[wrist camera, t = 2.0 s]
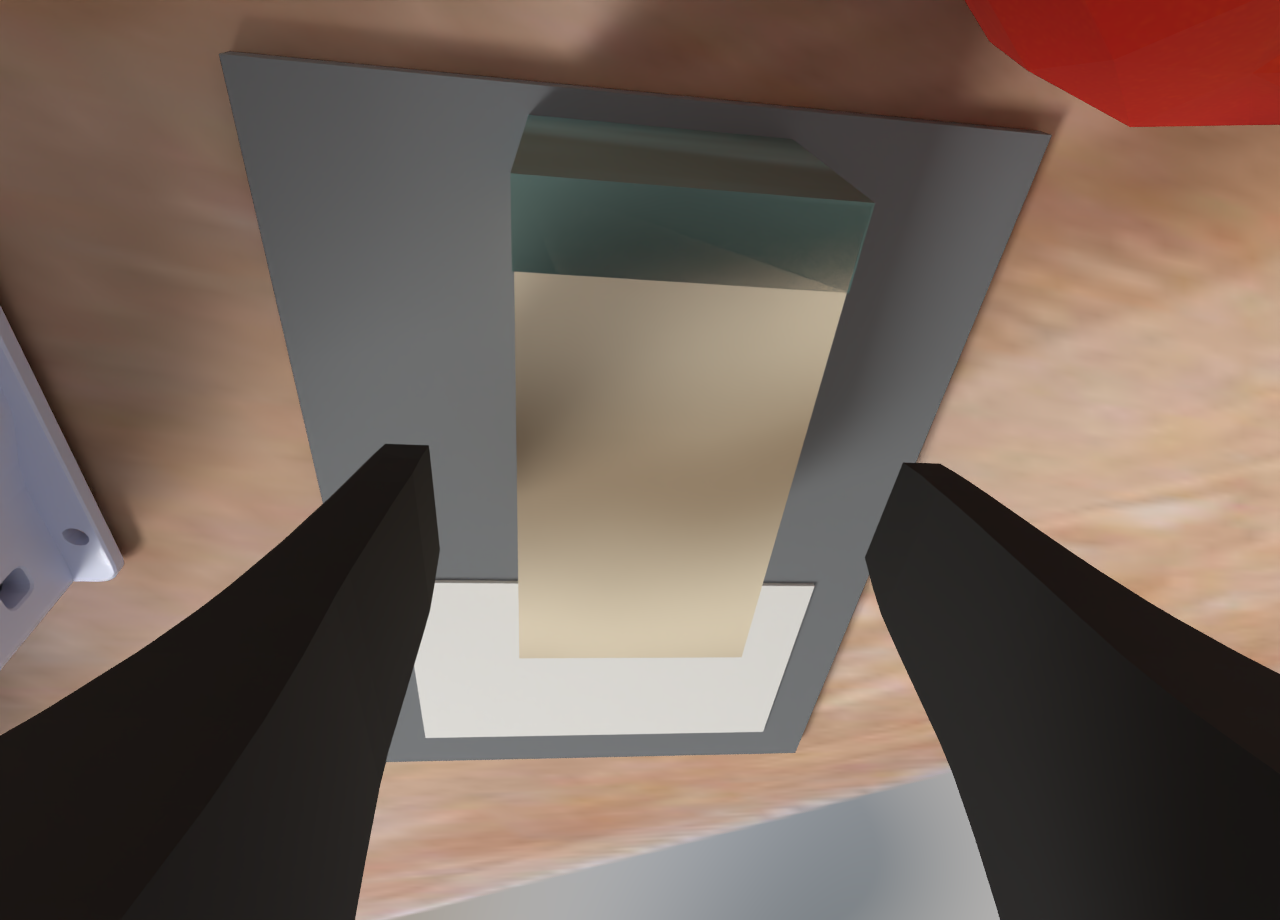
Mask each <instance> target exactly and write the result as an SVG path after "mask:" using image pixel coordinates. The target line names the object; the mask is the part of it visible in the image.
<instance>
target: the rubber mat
mask: <svg viewBox="0 0 1280 920" xmlns="http://www.w3.org/2000/svg"><path fill="white" fill-rule="evenodd" d="M219 57H220V61H221V65H222V69H223V74H224V78H225V82H226V87H227V91H228V95H229V100H230V104H231V108H232V113H233V117H234V121H235V126H236V130H237V134H238V139H239V143H240V147H241V151H242V156H243V160H244V164H245V169H246V173H247V177H248V182H249V186H250V190H251V195H252V199H253V203H254V208H255V212H256V216H257V221H258V225H259V229H260V233H261V238H262V242H263V246H264V251H265V255H266V259H267V264H268V268H269V272H270V277H271V281H272V285H273V290H274V294H275V298H276V303H277V307H278V311H279V315H280V320H281V324H282V328H283V333H284V337H285V341H286V346H287V350H288V354H289V359H290V363H291V367H292V372H293V376H294V380H295V385H296V389H297V393H298V397H299V402H300V406H301V410H302V415H303V419H304V423H305V428H306V432H307V436H308V441H309V445H310V449H311V454H312V458H313V462H314V467H315V471H316V475H317V479H318V484H319V488H320V492H321V497H322V501H323V503H324V502H325V501H326V500H327V499H328V498H330V497H331V496H332V495H333V494H334V493H335V492H336V491H337V490H338V489H339V488H340V487H341V486H342V485H343V484H344V483H345V482H346V481H347V480H348V479H349V478H350V477H351V476H352V475H353V474H354V473H355V472H356V471H357V470H358V469H359V468H360V467H361V466H362V465H363V464H364V463H365V462H366V461H367V460H368V459H369V458H370V457H371V456H372V455H373V454H374V453H375V452H377V451H378V450H379V449H380V448H381V447H382V446H383V445H384V444H407V445H429V450H430V460H431V469H432V479H433V488H434V498H435V507H436V516H437V526H438V535H439V545H440V553H439V559H438V566H437V572H436V579H435V585H434V591H433V597H432V602H431V608H430V613H429V616H428V620H427V623H426V627H425V630H424V634H423V637H422V640H421V644H420V647H419V651H418V654H417V658H416V661H415V664H414V668H413V671H412V674H411V678H410V681H409V684H408V688H407V691H406V694H405V698H404V701H403V705H402V708H401V711H400V715H399V718H398V721H397V725H396V728H395V731H394V735H393V738H392V742H391V745H390V748H389V752H388V756H387V760H386V762H407V761H452V760H496V759H541V758H585V757H630V756H675V755H719V754H764V753H795V752H796V749H797V747H798V744H799V742H800V740H801V737H802V735H803V732H804V730H805V728H806V725H807V723H808V720H809V718H810V716H811V713H812V711H813V708H814V706H815V704H816V701H817V699H818V696H819V694H820V691H821V689H822V687H823V684H824V682H825V679H826V677H827V675H828V672H829V670H830V667H831V665H832V663H833V660H834V658H835V655H836V653H837V651H838V648H839V646H840V643H841V641H842V639H843V636H844V634H845V631H846V629H847V627H848V624H849V622H850V619H851V617H852V615H853V612H854V610H855V607H856V605H857V602H858V600H859V598H860V595H861V593H862V590H863V588H864V586H865V583H866V581H867V578H868V576H869V571H868V568H867V564H866V561H865V556H866V553H867V551H868V548H869V546H870V543H871V541H872V538H873V536H874V533H875V531H876V528H877V526H878V523H879V521H880V518H881V516H882V513H883V511H884V508H885V506H886V504H887V501H888V499H889V496H890V494H891V491H892V489H893V486H894V484H895V481H896V479H897V476H898V474H899V471H900V469H901V466H902V464H903V462H904V463H916V461H917V458H918V456H919V453H920V451H921V449H922V446H923V444H924V441H925V439H926V437H927V434H928V432H929V429H930V427H931V425H932V422H933V420H934V417H935V415H936V412H937V410H938V408H939V405H940V403H941V400H942V398H943V396H944V393H945V391H946V388H947V386H948V384H949V381H950V379H951V376H952V374H953V372H954V369H955V367H956V364H957V362H958V360H959V357H960V355H961V352H962V350H963V348H964V345H965V343H966V340H967V338H968V336H969V333H970V331H971V328H972V326H973V323H974V321H975V319H976V316H977V314H978V311H979V309H980V307H981V304H982V302H983V299H984V297H985V295H986V292H987V290H988V287H989V285H990V283H991V280H992V278H993V275H994V273H995V271H996V268H997V266H998V263H999V261H1000V259H1001V256H1002V254H1003V251H1004V249H1005V247H1006V244H1007V242H1008V239H1009V237H1010V234H1011V232H1012V230H1013V227H1014V225H1015V222H1016V220H1017V218H1018V215H1019V213H1020V210H1021V208H1022V206H1023V203H1024V201H1025V198H1026V196H1027V194H1028V191H1029V189H1030V186H1031V184H1032V182H1033V179H1034V177H1035V174H1036V172H1037V170H1038V167H1039V165H1040V162H1041V160H1042V158H1043V155H1044V153H1045V150H1046V148H1047V146H1048V143H1049V141H1050V138H1051V136H1052V135H1050V134H1047V133H1044V132H1041V131H1035V130H1025V129H1015V128H1005V127H994V126H984V125H974V124H964V123H954V122H944V121H933V120H923V119H913V118H903V117H893V116H883V115H872V114H862V113H852V112H842V111H832V110H821V109H811V108H801V107H791V106H781V105H771V104H760V103H750V102H740V101H730V100H720V99H710V98H699V97H689V96H679V95H669V94H659V93H649V92H638V91H628V90H618V89H608V88H598V87H588V86H577V85H567V84H557V83H547V82H537V81H527V80H516V79H506V78H496V77H486V76H476V75H466V74H455V73H445V72H435V71H425V70H415V69H404V68H394V67H384V66H374V65H364V64H354V63H343V62H333V61H323V60H313V59H303V58H293V57H282V56H272V55H262V54H252V53H242V52H232V51H229V52H225V53H220V54H219ZM528 115H537V116H548V117H559V118H570V119H581V120H591V121H602V122H613V123H624V124H635V125H646V126H656V127H667V128H678V129H689V130H700V131H711V132H721V133H732V134H743V135H754V136H765V137H776V138H786V139H793V140H794V141H796V142H797V143H798V144H799V145H801V146H802V147H803V148H805V149H806V150H807V151H809V152H810V153H811V154H812V155H814V156H815V157H816V158H818V159H819V160H820V161H821V162H823V163H824V164H825V165H827V166H828V167H829V168H831V169H832V170H833V171H834V172H836V173H837V174H838V175H840V176H841V177H842V178H843V179H845V180H846V181H847V182H849V183H850V184H851V185H852V186H854V187H855V188H856V189H858V190H859V191H860V192H862V193H863V194H864V195H865V196H867V197H868V198H869V199H871V200H872V201H873V202H874V203H875V205H874V209H873V212H872V216H871V219H870V222H869V226H868V229H867V233H866V236H865V240H864V243H863V246H862V250H861V253H860V257H859V260H858V264H857V267H856V271H855V274H854V277H853V281H852V284H851V288H850V291H849V293H847V294H846V298H845V301H844V305H843V308H842V311H841V315H840V318H839V322H838V325H837V329H836V332H835V336H834V339H833V343H832V346H831V350H830V353H829V356H828V360H827V363H826V367H825V370H824V374H823V377H822V381H821V384H820V388H819V391H818V395H817V398H816V401H815V405H814V408H813V412H812V415H811V419H810V422H809V426H808V429H807V433H806V436H805V439H804V443H803V446H802V450H801V453H800V457H799V460H798V464H797V467H796V471H795V474H794V478H793V481H792V484H791V488H790V491H789V495H788V498H787V502H786V505H785V509H784V512H783V516H782V519H781V523H780V526H779V529H778V533H777V536H776V540H775V543H774V547H773V550H772V554H771V557H770V561H769V564H768V567H767V571H766V574H765V578H764V581H763V585H762V588H761V592H760V595H759V599H758V602H757V606H756V609H755V612H754V616H753V619H752V623H751V626H750V630H749V633H748V637H747V640H746V644H745V647H744V651H743V654H742V657H704V658H519V600H518V525H517V450H516V374H515V299H514V272H512V253H511V189H510V173H511V169H512V166H513V163H514V160H515V156H516V153H517V150H518V147H519V144H520V140H521V137H522V134H523V131H524V128H525V124H526V121H527V118H528Z"/></svg>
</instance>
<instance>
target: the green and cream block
mask: <svg viewBox="0 0 1280 920" xmlns="http://www.w3.org/2000/svg"><path fill="white" fill-rule="evenodd" d="M510 189H511V253H512V272H514V299H515V374H516V450H517V525H518V600H519V658H704V657H742V654H743V651H744V647H745V644H746V640H747V637H748V633H749V630H750V626H751V623H752V619H753V616H754V612H755V609H756V606H757V602H758V599H759V595H760V592H761V588H762V585H763V581H764V578H765V574H766V571H767V567H768V564H769V561H770V557H771V554H772V550H773V547H774V543H775V540H776V536H777V533H778V529H779V526H780V523H781V519H782V516H783V512H784V509H785V505H786V502H787V498H788V495H789V491H790V488H791V484H792V481H793V478H794V474H795V471H796V467H797V464H798V460H799V457H800V453H801V450H802V446H803V443H804V439H805V436H806V433H807V429H808V426H809V422H810V419H811V415H812V412H813V408H814V405H815V401H816V398H817V395H818V391H819V388H820V384H821V381H822V377H823V374H824V370H825V367H826V363H827V360H828V356H829V353H830V350H831V346H832V343H833V339H834V336H835V332H836V329H837V325H838V322H839V318H840V315H841V311H842V308H843V305H844V301H845V298H846V294H847V293H849V291H850V288H851V284H852V281H853V277H854V274H855V271H856V267H857V264H858V260H859V257H860V253H861V250H862V246H863V243H864V240H865V236H866V233H867V229H868V226H869V222H870V219H871V216H872V212H873V209H874V205H875V203H874V202H873V201H872V200H871V199H869V198H868V197H867V196H865V195H864V194H863V193H862V192H860V191H859V190H858V189H856V188H855V187H854V186H852V185H851V184H850V183H849V182H847V181H846V180H845V179H843V178H842V177H841V176H840V175H838V174H837V173H836V172H834V171H833V170H832V169H831V168H829V167H828V166H827V165H825V164H824V163H823V162H821V161H820V160H819V159H818V158H816V157H815V156H814V155H812V154H811V153H810V152H809V151H807V150H806V149H805V148H803V147H802V146H801V145H799V144H798V143H797V142H796V141H794V140H793V139H786V138H776V137H765V136H754V135H743V134H732V133H721V132H711V131H700V130H689V129H678V128H667V127H656V126H646V125H635V124H624V123H613V122H602V121H591V120H581V119H570V118H559V117H548V116H537V115H528V118H527V121H526V124H525V128H524V131H523V134H522V137H521V140H520V144H519V147H518V150H517V153H516V156H515V160H514V163H513V166H512V169H511V173H510Z"/></svg>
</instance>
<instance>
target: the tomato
mask: <svg viewBox="0 0 1280 920" xmlns="http://www.w3.org/2000/svg"><path fill="white" fill-rule="evenodd" d="M965 2H966V4H967V5H968V7H969V9H970V10H971V12H972V14H973V15H974V17H975V18H976V20H977V22H978V23H979V25H980V27H981V28H982V30H983V32H984V33H985V35H986V37H987V38H988V40H989V41H990V42H991V43H992V44H993V45H995V46H996V47H997V48H999V49H1000V50H1001V51H1003V52H1004V53H1005V54H1007V55H1008V56H1009V57H1011V58H1012V59H1013V60H1014V61H1016V62H1017V63H1018V64H1020V65H1021V66H1022V67H1024V68H1025V69H1026V70H1028V71H1029V72H1031V73H1033V74H1035V75H1037V76H1039V77H1040V78H1042V79H1044V80H1046V81H1048V82H1049V83H1051V84H1053V85H1055V86H1057V87H1058V88H1060V89H1062V90H1064V91H1066V92H1068V93H1069V94H1071V95H1073V96H1075V97H1077V98H1078V99H1080V100H1082V101H1084V102H1086V103H1087V104H1089V105H1091V106H1093V107H1095V108H1097V109H1098V110H1100V111H1102V112H1104V113H1106V114H1107V115H1109V116H1111V117H1113V118H1115V119H1117V120H1118V121H1120V122H1122V123H1124V124H1126V125H1127V126H1129V127H1156V126H1218V125H1280V0H965Z"/></svg>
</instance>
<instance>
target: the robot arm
mask: <svg viewBox="0 0 1280 920" xmlns="http://www.w3.org/2000/svg"><path fill="white" fill-rule="evenodd" d="M77 529H78V530H77ZM79 530H80V531H79ZM81 531H82V532H81ZM83 532H84V533H83ZM439 553H440V545H439V535H438V526H437V516H436V507H435V498H434V488H433V479H432V469H431V460H430V450H429V445H407V444H384V445H383V446H382V447H381V448H380V449H379V450H378V451H377V452H375V453H374V454H373V455H372V456H371V457H370V458H369V459H368V460H367V461H366V462H365V463H364V464H363V465H362V466H361V467H360V468H359V469H358V470H357V471H356V472H355V473H354V474H353V475H352V476H351V477H350V478H349V479H348V480H347V481H346V482H345V483H344V484H343V485H342V486H341V487H340V488H339V489H338V490H337V491H336V492H335V493H334V494H333V495H332V496H331V497H330V498H328V499H327V500H326V501H325V502H324V503H323V504H322V505H321V506H320V507H319V508H318V509H317V510H316V511H315V512H314V513H312V514H311V515H310V516H309V517H308V518H307V519H306V520H305V521H304V522H303V523H302V524H301V525H300V526H298V527H297V528H296V529H295V530H294V531H293V532H292V533H291V534H290V535H289V536H288V537H286V538H285V539H284V540H283V541H282V542H281V543H280V544H279V545H277V546H276V547H275V548H274V549H273V550H271V551H270V552H269V553H268V554H267V555H265V556H264V557H263V558H262V559H261V560H259V561H258V562H257V563H256V564H255V565H254V566H252V567H251V568H250V569H249V570H248V571H246V572H245V573H244V574H243V575H242V576H240V577H239V578H238V579H237V580H236V581H234V582H233V583H232V584H231V585H230V586H228V587H227V588H226V589H225V590H223V591H222V592H221V593H219V594H218V595H217V596H215V597H214V598H213V599H212V600H210V601H209V602H208V603H206V604H205V605H204V606H202V607H201V608H200V609H198V610H197V611H196V612H194V613H193V614H191V615H190V616H189V617H187V618H186V619H184V620H183V621H181V622H180V623H179V624H177V625H176V626H174V627H173V628H172V629H170V630H169V631H167V632H166V633H165V634H163V635H162V636H160V637H159V638H157V639H156V640H155V641H153V642H152V643H150V644H149V645H147V646H146V647H144V648H143V649H141V650H140V651H138V652H137V653H135V654H134V655H132V656H130V657H129V658H127V659H126V660H124V661H122V662H121V663H119V664H118V665H116V666H114V667H113V668H111V669H110V670H108V671H106V672H105V673H103V674H102V675H100V676H98V677H97V678H95V679H94V680H92V681H91V682H89V683H87V684H86V685H84V686H83V687H81V688H79V689H78V690H76V691H75V692H73V693H71V694H70V695H68V696H67V697H65V698H63V699H62V700H60V701H59V702H57V703H55V704H54V705H52V706H51V707H49V708H47V709H46V710H44V711H42V712H41V713H39V714H37V715H36V716H34V717H32V718H30V719H29V720H27V721H25V722H23V723H22V724H20V725H18V726H16V727H15V728H13V729H11V730H9V731H8V732H6V733H4V734H2V735H1V736H0V920H355V916H356V910H357V905H358V899H359V894H360V888H361V882H362V877H363V871H364V866H365V860H366V855H367V850H368V845H369V840H370V834H371V829H372V824H373V819H374V814H375V809H376V803H377V798H378V793H379V788H380V783H381V779H382V775H383V771H384V767H385V764H386V760H387V756H388V752H389V748H390V745H391V742H392V738H393V735H394V731H395V728H396V725H397V721H398V718H399V715H400V711H401V708H402V705H403V701H404V698H405V694H406V691H407V688H408V684H409V681H410V678H411V674H412V671H413V668H414V664H415V661H416V658H417V654H418V651H419V647H420V644H421V640H422V637H423V634H424V630H425V627H426V623H427V620H428V616H429V613H430V608H431V602H432V597H433V591H434V585H435V579H436V572H437V566H438V559H439ZM865 561H866V564H867V568H868V571H869V575H870V579H871V582H872V586H873V590H874V593H875V596H876V599H877V602H878V605H879V609H880V612H881V615H882V617H883V619H884V622H885V624H886V626H887V629H888V631H889V633H890V635H891V637H892V640H893V642H894V644H895V646H896V649H897V651H898V653H899V655H900V657H901V660H902V662H903V664H904V666H905V668H906V670H907V673H908V675H909V677H910V679H911V681H912V683H913V685H914V688H915V690H916V692H917V694H918V696H919V698H920V701H921V703H922V705H923V707H924V709H925V711H926V714H927V716H928V718H929V720H930V722H931V724H932V726H933V729H934V731H935V733H936V735H937V737H938V739H939V742H940V744H941V746H942V749H943V751H944V753H945V756H946V758H947V761H948V763H949V766H950V768H951V770H952V773H953V776H954V778H955V781H956V784H957V787H958V790H959V793H960V796H961V799H962V801H963V804H964V807H965V810H966V813H967V816H968V819H969V822H970V825H971V827H972V831H973V834H974V837H975V839H976V843H977V846H978V849H979V852H980V856H981V859H982V862H983V865H984V868H985V871H986V875H987V878H988V881H989V884H990V887H991V891H992V894H993V897H994V901H995V904H996V907H997V910H998V914H999V917H1000V920H1280V674H1279V673H1277V672H1275V671H1273V670H1271V669H1269V668H1267V667H1265V666H1263V665H1261V664H1259V663H1257V662H1255V661H1253V660H1251V659H1249V658H1247V657H1245V656H1244V655H1242V654H1240V653H1238V652H1236V651H1234V650H1232V649H1230V648H1229V647H1227V646H1225V645H1223V644H1221V643H1220V642H1218V641H1216V640H1214V639H1212V638H1211V637H1209V636H1207V635H1205V634H1203V633H1202V632H1200V631H1198V630H1196V629H1194V628H1193V627H1191V626H1189V625H1187V624H1186V623H1184V622H1182V621H1180V620H1178V619H1177V618H1175V617H1173V616H1171V615H1170V614H1168V613H1166V612H1165V611H1163V610H1161V609H1160V608H1158V607H1156V606H1155V605H1153V604H1151V603H1150V602H1148V601H1146V600H1145V599H1143V598H1142V597H1140V596H1138V595H1137V594H1135V593H1134V592H1132V591H1130V590H1129V589H1127V588H1126V587H1124V586H1123V585H1121V584H1119V583H1118V582H1116V581H1115V580H1113V579H1111V578H1110V577H1108V576H1107V575H1105V574H1104V573H1102V572H1100V571H1099V570H1097V569H1096V568H1094V567H1093V566H1091V565H1090V564H1088V563H1087V562H1085V561H1084V560H1082V559H1081V558H1079V557H1078V556H1076V555H1075V554H1073V553H1072V552H1070V551H1069V550H1067V549H1066V548H1064V547H1063V546H1062V545H1060V544H1059V543H1057V542H1056V541H1054V540H1053V539H1051V538H1050V537H1048V536H1047V535H1046V534H1044V533H1043V532H1041V531H1040V530H1038V529H1037V528H1035V527H1034V526H1033V525H1031V524H1030V523H1028V522H1027V521H1025V520H1024V519H1023V518H1021V517H1020V516H1018V515H1017V514H1015V513H1014V512H1013V511H1011V510H1010V509H1008V508H1007V507H1005V506H1004V505H1003V504H1001V503H1000V502H998V501H997V500H995V499H994V498H993V497H991V496H990V495H988V494H987V493H985V492H984V491H982V490H981V489H979V488H978V487H976V486H975V485H973V484H972V483H971V482H969V481H967V480H966V479H964V478H963V477H961V476H960V475H958V474H956V473H955V472H953V471H952V470H950V469H948V468H946V467H945V466H943V465H941V464H932V463H904V462H903V464H902V466H901V469H900V471H899V474H898V476H897V479H896V481H895V484H894V486H893V489H892V491H891V494H890V496H889V499H888V501H887V504H886V506H885V508H884V511H883V513H882V516H881V518H880V521H879V523H878V526H877V528H876V531H875V533H874V536H873V538H872V541H871V543H870V546H869V548H868V551H867V553H866V556H865ZM123 565H124V560H123V557H122V555H121V553H120V551H119V548H118V546H117V544H116V542H115V540H114V538H113V536H112V534H111V532H110V530H109V528H108V526H107V524H106V522H105V520H104V518H103V516H102V514H101V511H100V509H99V507H98V505H97V503H96V501H95V499H94V497H93V495H92V493H91V491H90V489H89V487H88V485H87V483H86V481H85V479H84V477H83V474H82V472H81V470H80V468H79V466H78V464H77V462H76V460H75V458H74V456H73V454H72V452H71V450H70V448H69V446H68V444H67V442H66V440H65V437H64V435H63V433H62V431H61V429H60V427H59V425H58V423H57V421H56V419H55V417H54V415H53V413H52V411H51V409H50V407H49V405H48V403H47V400H46V398H45V396H44V394H43V392H42V390H41V388H40V386H39V384H38V382H37V380H36V378H35V376H34V374H33V372H32V370H31V368H30V365H29V363H28V361H27V359H26V357H25V355H24V353H23V351H22V349H21V347H20V345H19V343H18V341H17V339H16V337H15V335H14V333H13V331H12V328H11V326H10V324H9V322H8V320H7V318H6V316H5V314H4V312H3V310H2V308H1V306H0V670H1V669H2V668H3V667H4V665H5V664H6V663H7V662H8V661H9V659H10V658H11V657H12V656H13V654H14V653H15V652H16V651H17V650H18V648H19V647H20V646H21V645H22V643H23V642H24V641H25V640H26V639H27V637H28V636H29V635H30V634H31V632H32V631H33V630H34V629H35V628H36V626H37V625H38V624H39V623H40V621H41V620H42V619H43V618H44V617H45V615H46V614H47V613H48V612H49V610H50V609H51V608H52V607H53V606H54V604H55V603H56V602H57V601H58V600H59V598H60V597H61V596H62V595H63V593H64V592H65V591H66V590H67V589H68V587H69V586H70V585H71V584H72V582H73V581H93V582H101V581H109V580H111V579H113V578H115V577H116V575H117V574H118V573H119V571H120V570H121V569H122V567H123Z"/></svg>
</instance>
